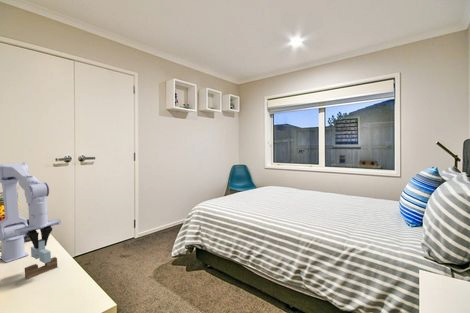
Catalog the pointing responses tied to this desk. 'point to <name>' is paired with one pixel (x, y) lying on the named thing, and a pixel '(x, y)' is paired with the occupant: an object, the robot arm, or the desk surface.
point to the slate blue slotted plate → (41, 252)
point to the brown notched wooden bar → (40, 268)
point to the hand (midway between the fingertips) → (40, 246)
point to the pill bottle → (26, 238)
